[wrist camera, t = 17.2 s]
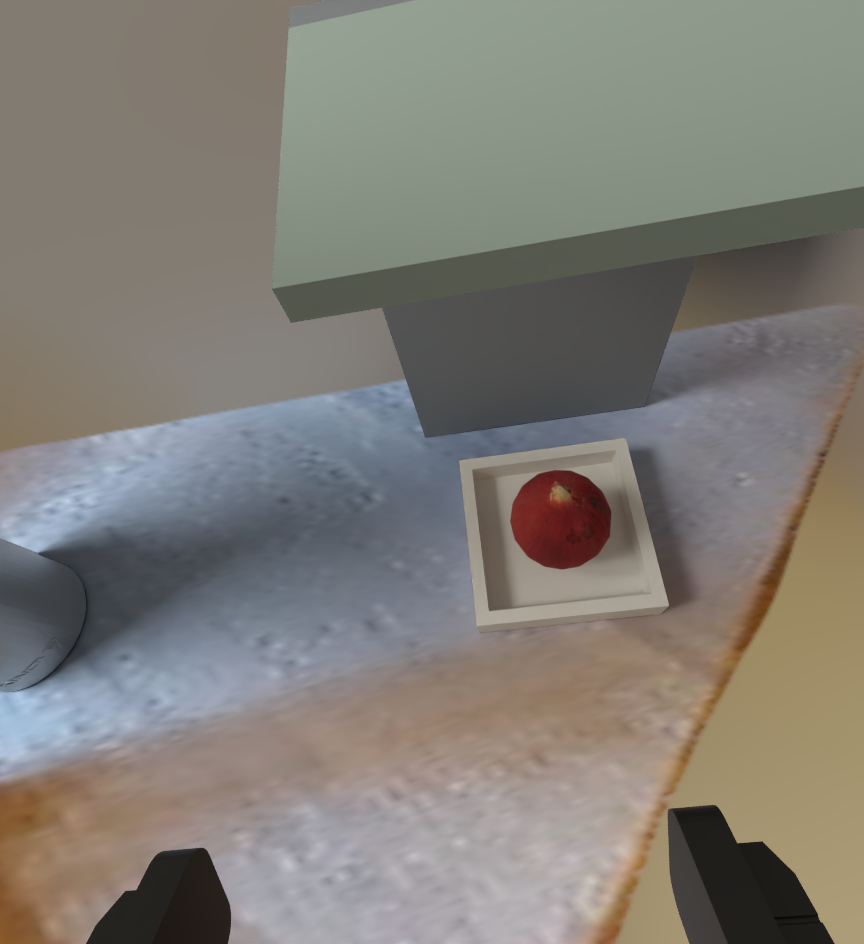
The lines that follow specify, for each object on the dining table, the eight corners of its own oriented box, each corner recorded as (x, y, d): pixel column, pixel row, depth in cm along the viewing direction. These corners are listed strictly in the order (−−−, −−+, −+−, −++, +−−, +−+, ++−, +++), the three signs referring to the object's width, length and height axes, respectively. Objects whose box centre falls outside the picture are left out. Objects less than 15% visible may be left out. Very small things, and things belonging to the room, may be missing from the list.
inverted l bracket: (686, 553, 36) (1022, 158, 12) (436, 581, 37) (271, 288, 13) (640, 392, 41) (804, -108, 17) (424, 423, 43) (290, 7, 19)
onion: (605, 503, 38) (624, 447, 30) (600, 588, 35) (619, 550, 28) (517, 494, 39) (515, 437, 32) (507, 575, 36) (502, 535, 29)
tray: (660, 613, 35) (669, 605, 32) (479, 632, 36) (476, 626, 34) (620, 453, 39) (625, 437, 37) (462, 474, 41) (459, 460, 38)
